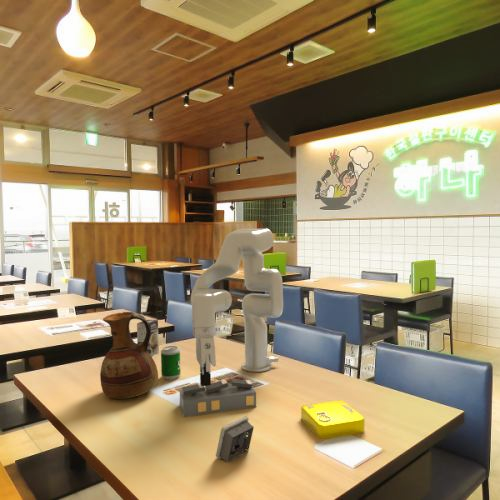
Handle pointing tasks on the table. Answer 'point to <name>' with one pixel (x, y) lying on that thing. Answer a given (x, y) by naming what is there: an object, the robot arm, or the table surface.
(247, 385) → the rocker
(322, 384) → the table surface
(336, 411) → the element tile
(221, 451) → the electrical switch
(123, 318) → the ceramic pitcher
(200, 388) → the rocker
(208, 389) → the block
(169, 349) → the soda can
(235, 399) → the switch housing
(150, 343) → the coffee box
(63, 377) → the table surface
